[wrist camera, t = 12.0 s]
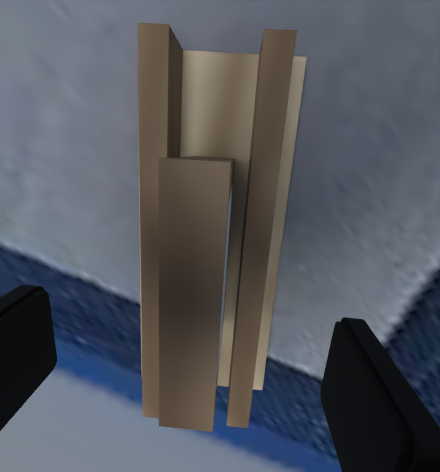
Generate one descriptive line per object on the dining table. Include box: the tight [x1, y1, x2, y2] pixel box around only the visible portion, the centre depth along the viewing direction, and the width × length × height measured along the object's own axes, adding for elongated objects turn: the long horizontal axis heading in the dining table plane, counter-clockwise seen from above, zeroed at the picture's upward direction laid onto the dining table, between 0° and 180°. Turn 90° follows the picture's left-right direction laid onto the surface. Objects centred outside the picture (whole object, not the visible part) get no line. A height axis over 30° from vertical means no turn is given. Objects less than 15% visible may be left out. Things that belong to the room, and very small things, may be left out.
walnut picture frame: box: [159, 156, 235, 432], centre depth 16 cm, size 2×12×9 cm, turn 177°
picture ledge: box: [137, 23, 307, 428], centre depth 19 cm, size 10×24×6 cm, turn 176°
